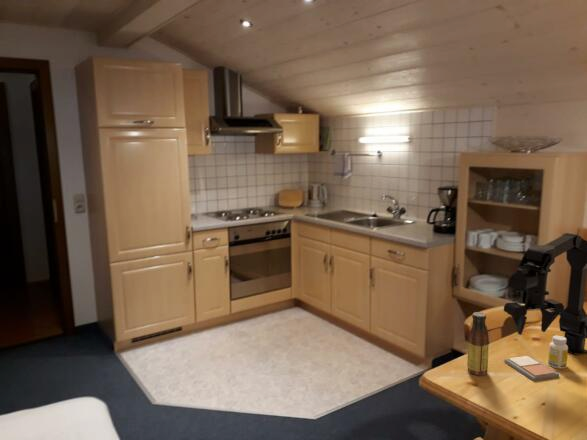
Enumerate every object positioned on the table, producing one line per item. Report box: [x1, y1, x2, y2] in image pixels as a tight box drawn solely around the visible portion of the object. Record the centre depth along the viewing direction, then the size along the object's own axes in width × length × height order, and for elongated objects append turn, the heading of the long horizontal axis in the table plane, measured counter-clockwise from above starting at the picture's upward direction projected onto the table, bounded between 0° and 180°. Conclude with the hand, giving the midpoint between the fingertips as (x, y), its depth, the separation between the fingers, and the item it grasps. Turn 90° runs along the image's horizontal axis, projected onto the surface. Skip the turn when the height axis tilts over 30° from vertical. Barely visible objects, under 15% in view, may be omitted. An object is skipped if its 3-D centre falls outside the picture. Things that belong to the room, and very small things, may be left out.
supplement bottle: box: [547, 335, 569, 369], centre depth 156 cm, size 5×5×10 cm
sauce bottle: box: [466, 311, 490, 377], centre depth 151 cm, size 7×6×20 cm
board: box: [503, 355, 560, 382], centre depth 154 cm, size 10×13×1 cm
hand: (531, 332), depth 152 cm, fingers open, 9 cm apart
